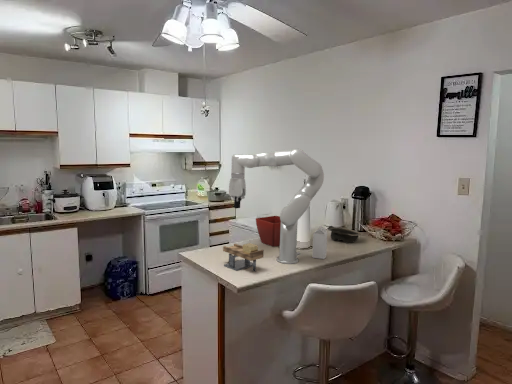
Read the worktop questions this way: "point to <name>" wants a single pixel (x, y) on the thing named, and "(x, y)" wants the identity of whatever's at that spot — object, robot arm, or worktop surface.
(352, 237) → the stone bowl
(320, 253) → the milk carton
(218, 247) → the worktop surface
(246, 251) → the block
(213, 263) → the worktop surface
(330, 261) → the worktop surface
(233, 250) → the board
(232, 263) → the pivot stand
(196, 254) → the worktop surface
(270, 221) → the plant pot
